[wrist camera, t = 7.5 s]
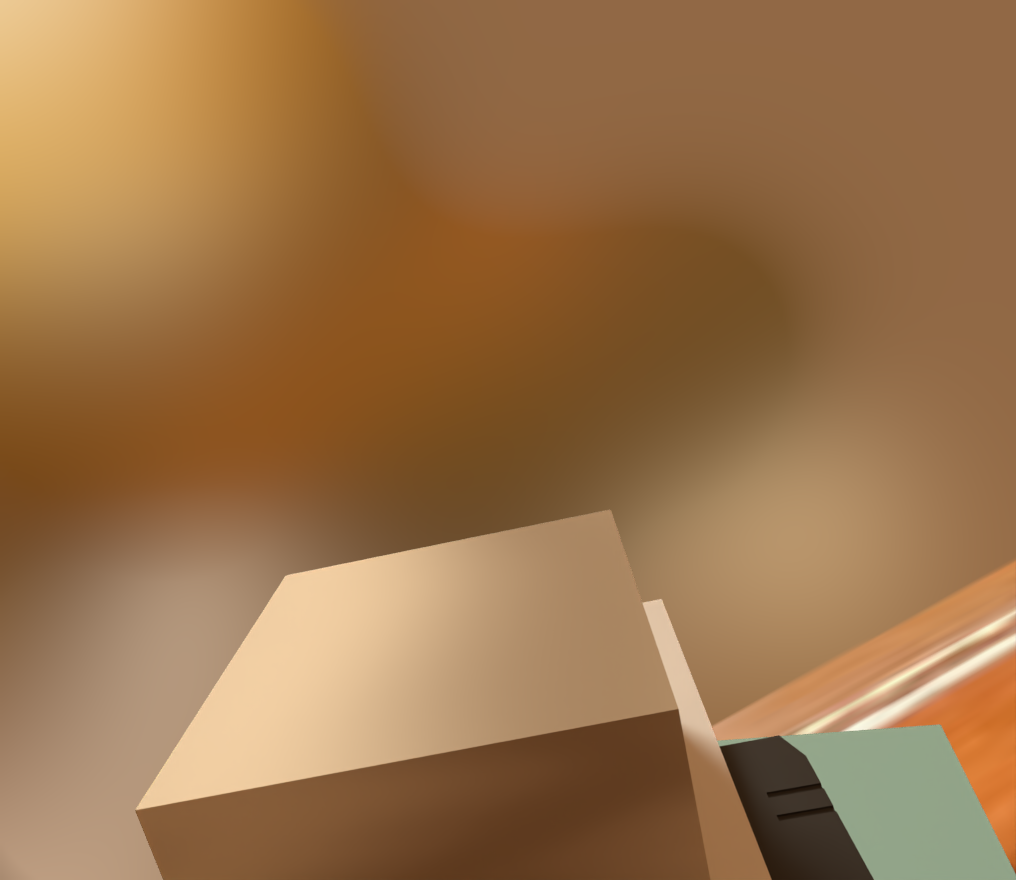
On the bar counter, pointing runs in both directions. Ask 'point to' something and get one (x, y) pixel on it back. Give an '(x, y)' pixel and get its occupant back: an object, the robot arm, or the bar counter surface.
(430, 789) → the block
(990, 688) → the bar counter surface
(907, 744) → the green square block
